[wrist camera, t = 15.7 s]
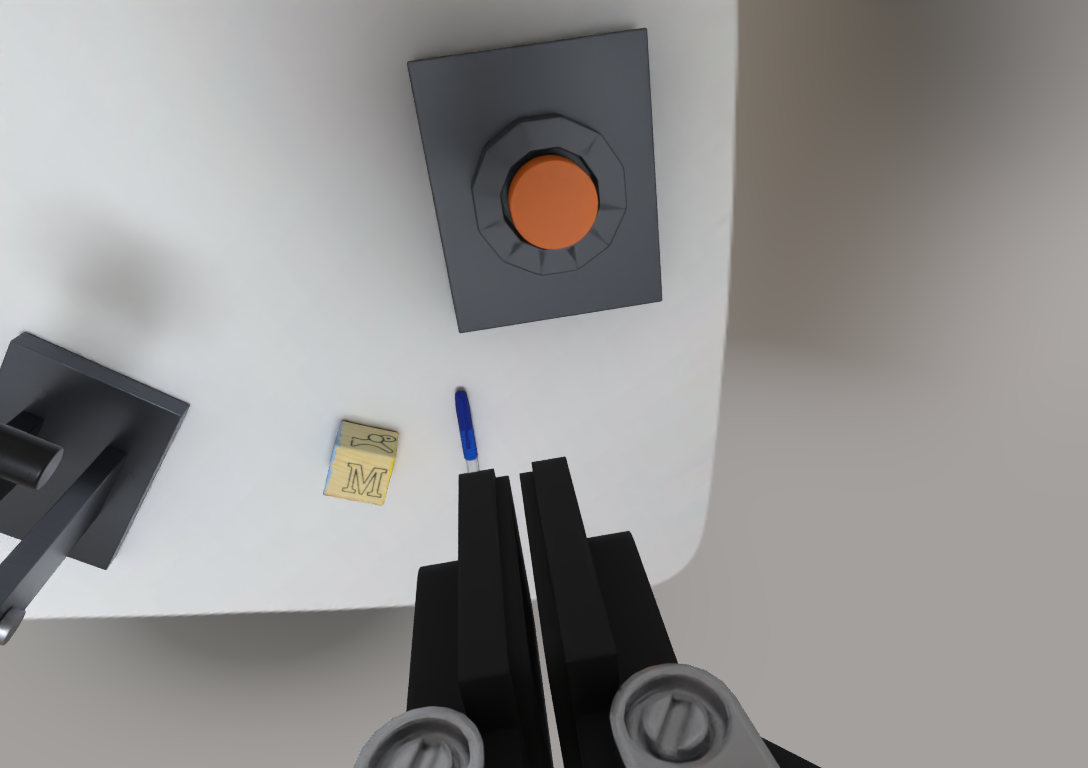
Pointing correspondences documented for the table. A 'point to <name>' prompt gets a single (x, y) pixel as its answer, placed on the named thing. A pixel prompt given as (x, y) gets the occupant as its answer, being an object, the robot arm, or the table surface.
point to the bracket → (75, 464)
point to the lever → (27, 457)
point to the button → (552, 202)
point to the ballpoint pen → (466, 431)
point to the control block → (523, 134)
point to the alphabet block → (361, 463)
